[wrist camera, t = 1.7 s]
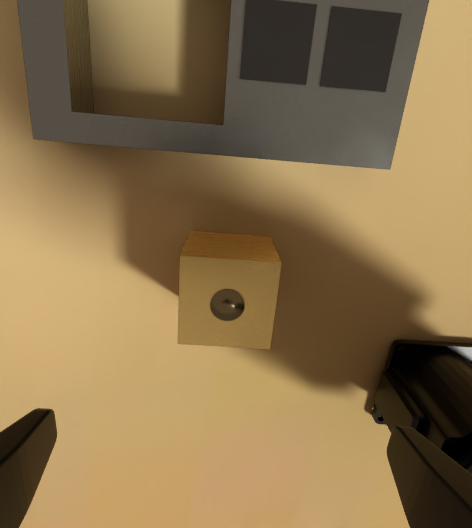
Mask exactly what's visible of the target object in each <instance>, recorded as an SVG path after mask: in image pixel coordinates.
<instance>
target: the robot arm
mask: <svg viewBox="0 0 472 528" xmlns="http://www.w3.org/2000/svg"><path fill="white" fill-rule="evenodd" d="M400 347H402V348H401V349H400V350H398V349H399V348H400ZM374 403H375V405H374V409H373V412H372V417H373V419H374V420H375V422H376V423H377V424H387V426H388V428H389V430H390V432H391V436H390V439H389V443H388V446H387V457H388V461H389V464H390V467H391V470H392V473H393V477H394V480H395V483H396V486H397V489H398V493H399V496H400V499H401V502H402V505H403V509H404V512H405V515H406V518H407V521H408V523H409V526H410V528H472V344H462V343H446V342H430V341H414V340H396V341H394V342H393V343H392V345H391V348H390V352H389V355H388V359H387V362H386V366H385V370H384V371H383V372H382V375H381V378H380V382H379V385H378V389H377V393H376V396H375V400H374ZM379 416H381V417H379ZM56 438H57V429H56V421H55V414H54V411H53V410H52V409H42V408H38V409H34V410H33V411H31V412H30V413H28V414H27V415H25V416H24V417H22V418H21V419H19V420H18V421H16V422H15V423H13V424H12V425H10V426H9V427H7V428H6V429H4V430H3V431H1V432H0V528H19V526H20V525H21V523H22V521H23V519H24V517H25V515H26V513H27V510H28V508H29V506H30V504H31V502H32V499H33V497H34V495H35V492H36V490H37V487H38V485H39V482H40V480H41V477H42V475H43V472H44V470H45V467H46V465H47V462H48V460H49V457H50V455H51V452H52V450H53V447H54V445H55V442H56Z"/></svg>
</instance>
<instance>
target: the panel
mask: <svg viewBox="0 0 472 528" xmlns="http://www.w3.org/2000/svg"><path fill="white" fill-rule="evenodd" d="M17 3H18V12H19V21H20V29H21V38H22V46H23V55H24V63H25V72H26V81H27V89H28V98H29V106H30V115H31V123H32V132H33V139H36V140H47V141H59V142H71V143H83V144H94V145H106V146H118V147H130V148H141V149H153V150H165V151H177V152H188V153H200V154H212V155H223V156H235V157H247V158H259V159H270V160H282V161H294V162H306V163H317V164H329V165H341V166H353V167H364V168H376V169H388V170H390V168H391V164H392V159H393V155H394V151H395V146H396V142H397V138H398V133H399V129H400V125H401V120H402V116H403V112H404V107H405V103H406V99H407V94H408V90H409V86H410V81H411V77H412V73H413V68H414V64H415V60H416V55H417V51H418V47H419V42H420V38H421V34H422V29H423V25H424V20H425V16H426V12H427V7H428V3H429V0H231V15H230V30H229V46H228V62H227V77H226V93H225V109H224V124H223V125H214V124H203V123H192V122H181V121H170V120H158V119H147V118H136V117H125V116H114V115H102V114H94V108H93V90H92V73H91V56H90V38H89V21H88V4H87V0H17Z"/></svg>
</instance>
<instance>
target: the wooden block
mask: <svg viewBox="0 0 472 528" xmlns="http://www.w3.org/2000/svg"><path fill="white" fill-rule="evenodd" d="M281 265H282V262H281V260H280V258H279V255H278V253H277V251H276V248H275V246H274V244H273V242H272V239H271V237H268V236H255V235H242V234H228V233H215V232H202V231H191V232H190V234H189V236H188V238H187V241H186V243H185V245H184V248H183V250H182V252H181V254H180V272H179V310H178V344H188V345H205V346H222V347H239V348H256V349H270V346H271V339H272V331H273V324H274V317H275V309H276V302H277V295H278V287H279V280H280V273H281Z"/></svg>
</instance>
